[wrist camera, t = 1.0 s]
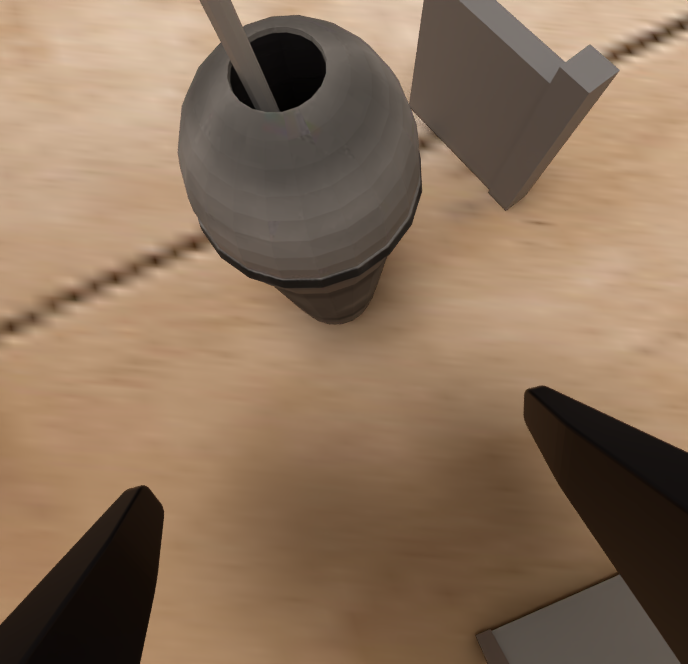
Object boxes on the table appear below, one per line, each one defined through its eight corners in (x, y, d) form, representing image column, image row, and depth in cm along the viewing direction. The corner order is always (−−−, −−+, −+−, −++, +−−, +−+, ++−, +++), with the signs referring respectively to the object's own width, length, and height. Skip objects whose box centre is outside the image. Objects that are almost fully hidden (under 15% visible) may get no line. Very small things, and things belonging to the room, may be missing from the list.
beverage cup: (386, 356, 22) (533, -15, 3) (265, 338, 23) (-335, -68, 3) (402, 240, 24) (579, -579, 4) (288, 226, 24) (-47, -540, 5)
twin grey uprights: (862, 533, 19) (1287, 642, 10) (837, 556, 19) (1245, 687, 10) (426, 93, 25) (458, -73, 17) (405, 108, 25) (426, -51, 16)
